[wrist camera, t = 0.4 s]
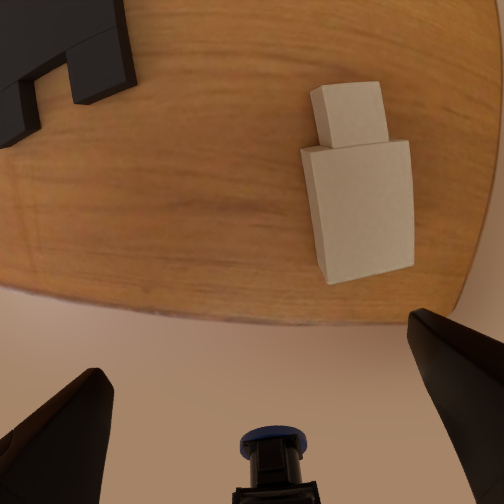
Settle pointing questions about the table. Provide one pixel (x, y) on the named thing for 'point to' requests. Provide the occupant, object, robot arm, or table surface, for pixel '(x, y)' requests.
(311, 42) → the table surface
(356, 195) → the beige stepped block
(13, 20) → the socket pad
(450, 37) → the table surface
